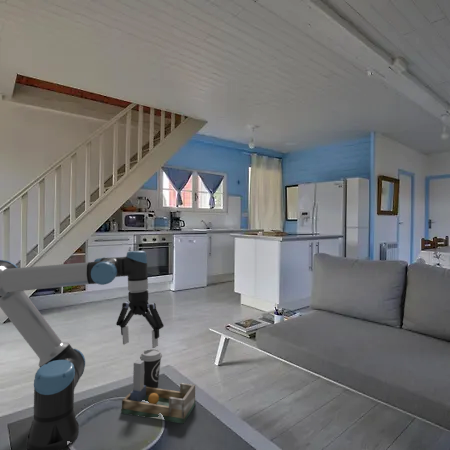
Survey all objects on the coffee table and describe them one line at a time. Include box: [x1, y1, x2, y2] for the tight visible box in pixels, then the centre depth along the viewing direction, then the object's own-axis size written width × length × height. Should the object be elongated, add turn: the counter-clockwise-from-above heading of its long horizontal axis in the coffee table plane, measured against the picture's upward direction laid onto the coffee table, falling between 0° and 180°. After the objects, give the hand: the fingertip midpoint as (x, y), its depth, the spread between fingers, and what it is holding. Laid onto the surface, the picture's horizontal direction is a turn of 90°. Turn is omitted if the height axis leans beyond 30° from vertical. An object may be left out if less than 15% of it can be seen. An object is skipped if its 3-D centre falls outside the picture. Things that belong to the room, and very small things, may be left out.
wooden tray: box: [120, 382, 196, 425], centre depth 123 cm, size 25×13×8 cm, turn 76°
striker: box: [129, 359, 146, 402], centre depth 125 cm, size 3×7×15 cm, turn 167°
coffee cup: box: [139, 348, 163, 388], centre depth 140 cm, size 10×10×15 cm
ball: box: [148, 393, 159, 404], centre depth 123 cm, size 4×4×4 cm
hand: (140, 345), depth 124 cm, fingers open, 13 cm apart
